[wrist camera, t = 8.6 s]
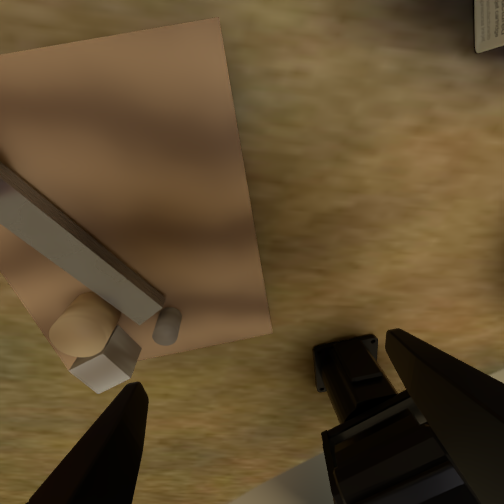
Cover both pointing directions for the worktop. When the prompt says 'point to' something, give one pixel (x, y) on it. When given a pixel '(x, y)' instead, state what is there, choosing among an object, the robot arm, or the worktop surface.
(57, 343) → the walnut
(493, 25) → the ink box
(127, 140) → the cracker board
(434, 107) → the worktop surface
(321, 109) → the worktop surface
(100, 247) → the lever
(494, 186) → the worktop surface
